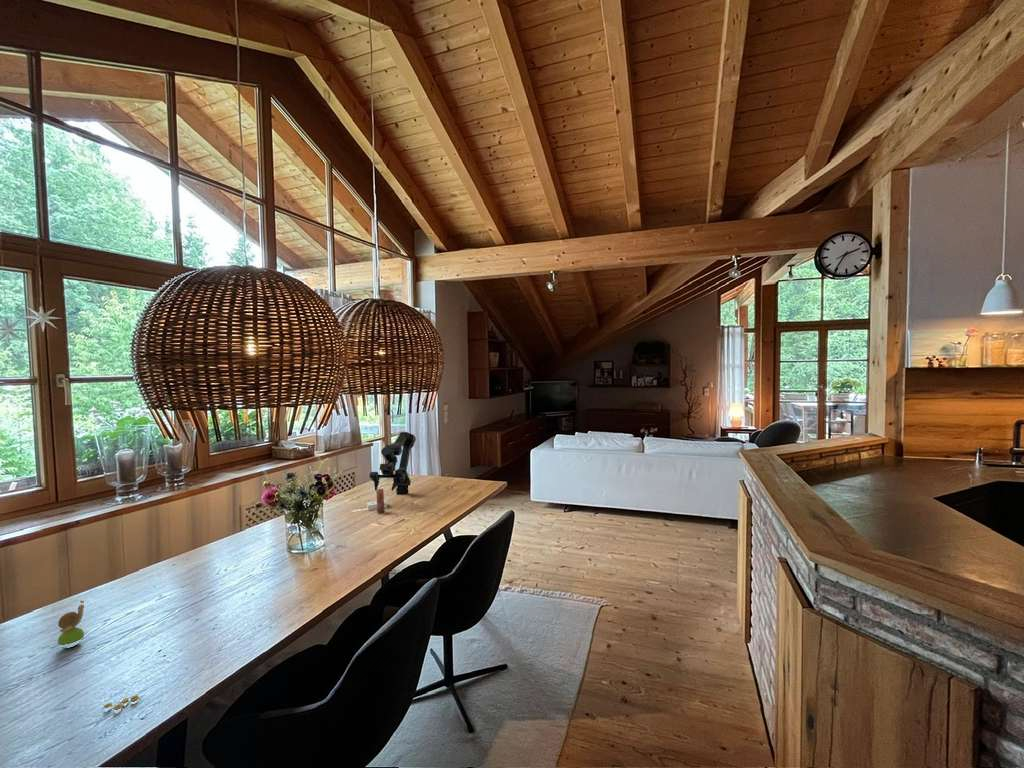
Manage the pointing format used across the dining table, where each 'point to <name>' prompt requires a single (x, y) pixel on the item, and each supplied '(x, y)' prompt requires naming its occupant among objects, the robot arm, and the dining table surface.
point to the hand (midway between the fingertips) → (383, 490)
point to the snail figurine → (71, 627)
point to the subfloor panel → (358, 510)
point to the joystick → (380, 502)
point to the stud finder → (374, 505)
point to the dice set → (122, 702)
